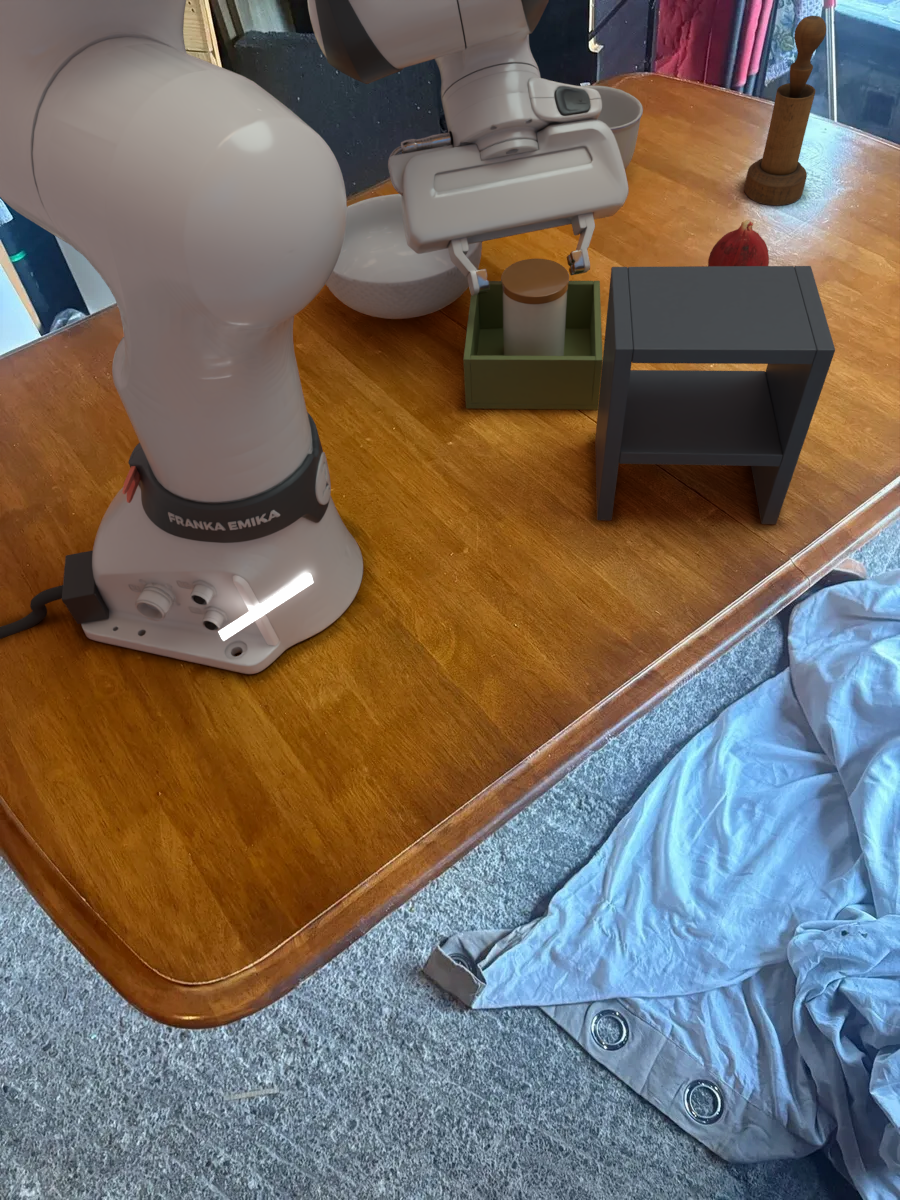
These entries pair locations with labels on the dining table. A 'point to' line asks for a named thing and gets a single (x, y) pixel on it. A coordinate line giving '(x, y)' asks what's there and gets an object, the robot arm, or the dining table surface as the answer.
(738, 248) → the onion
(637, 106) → the teacup
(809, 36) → the mortar and pestle
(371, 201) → the cereal bowl
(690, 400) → the shelf
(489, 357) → the bin
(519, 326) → the jar
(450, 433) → the dining table surface
